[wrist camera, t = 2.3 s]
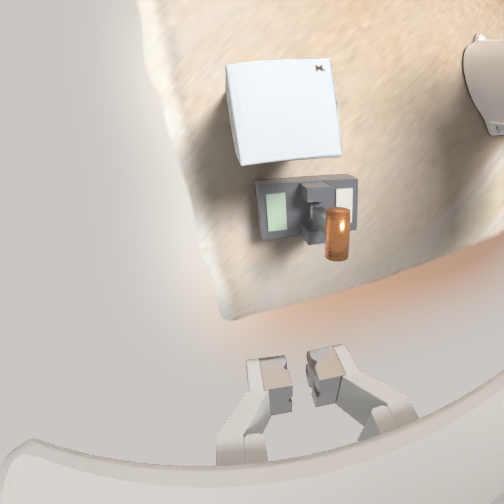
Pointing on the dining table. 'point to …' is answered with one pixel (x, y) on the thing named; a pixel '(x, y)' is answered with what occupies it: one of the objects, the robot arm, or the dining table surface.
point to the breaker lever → (332, 229)
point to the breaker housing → (302, 204)
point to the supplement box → (283, 110)
